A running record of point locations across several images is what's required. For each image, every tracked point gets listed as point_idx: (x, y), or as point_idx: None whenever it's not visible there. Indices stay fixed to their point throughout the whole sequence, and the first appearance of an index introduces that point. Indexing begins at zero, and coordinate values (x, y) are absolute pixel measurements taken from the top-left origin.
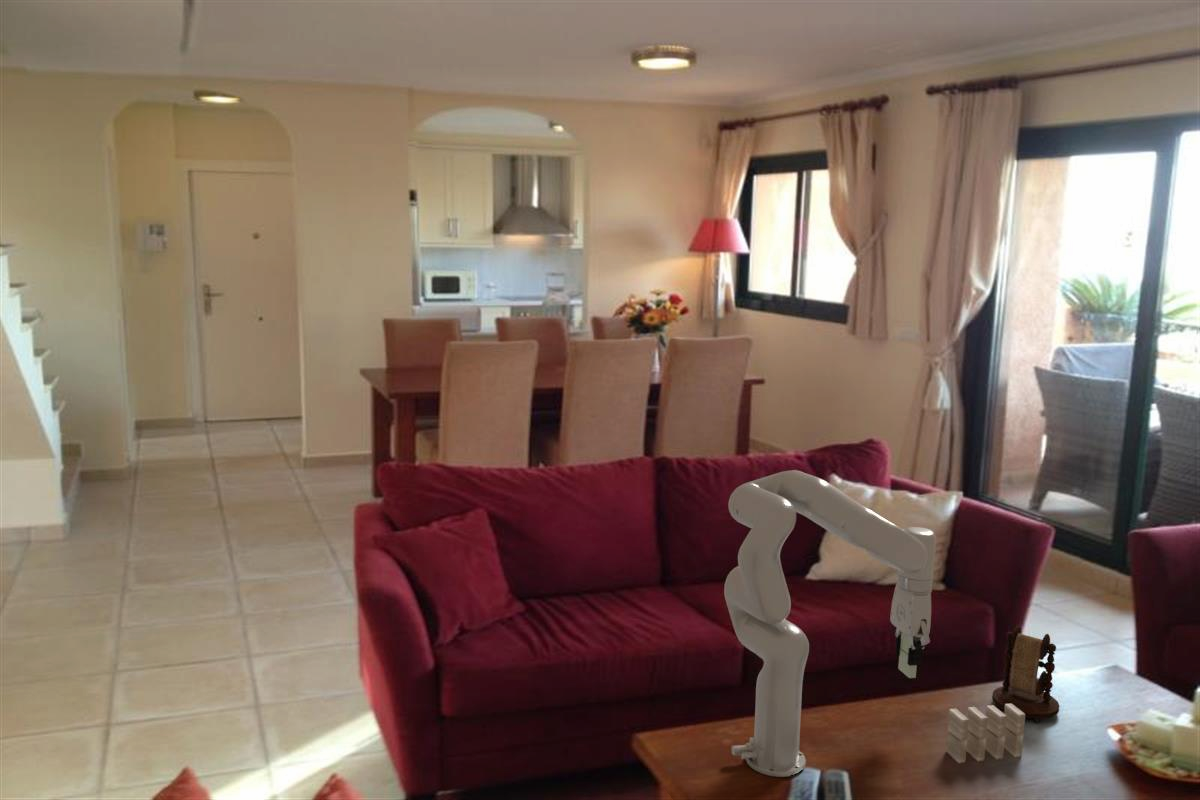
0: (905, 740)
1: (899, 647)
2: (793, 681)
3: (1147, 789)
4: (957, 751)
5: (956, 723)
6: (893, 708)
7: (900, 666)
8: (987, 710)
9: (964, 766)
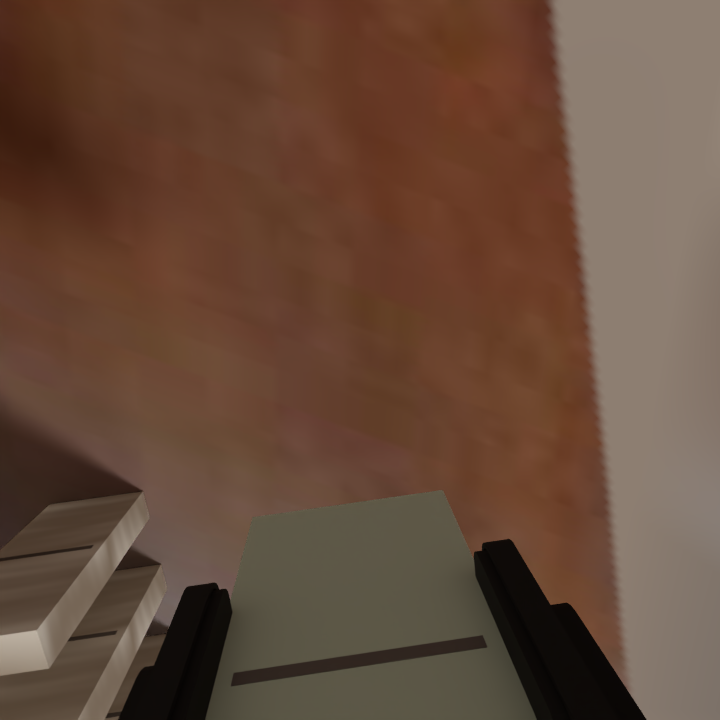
0: (233, 360)
1: (506, 638)
2: None
3: None
4: (39, 526)
5: None
6: (515, 409)
7: (416, 514)
8: None
9: (28, 517)
